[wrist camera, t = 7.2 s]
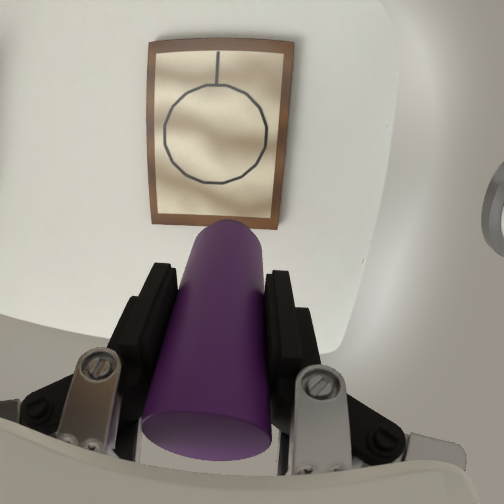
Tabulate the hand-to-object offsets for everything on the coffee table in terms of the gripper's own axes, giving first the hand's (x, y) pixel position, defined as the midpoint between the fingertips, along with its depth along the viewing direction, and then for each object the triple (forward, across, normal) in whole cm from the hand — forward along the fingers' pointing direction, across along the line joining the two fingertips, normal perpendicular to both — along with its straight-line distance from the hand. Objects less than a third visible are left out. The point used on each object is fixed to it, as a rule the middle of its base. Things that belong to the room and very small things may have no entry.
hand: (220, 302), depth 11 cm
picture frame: (+22, +3, -3) cm, 22 cm away
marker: (+5, 0, 0) cm, 5 cm away
